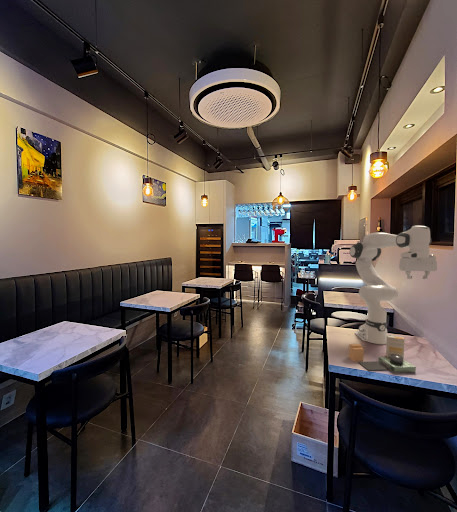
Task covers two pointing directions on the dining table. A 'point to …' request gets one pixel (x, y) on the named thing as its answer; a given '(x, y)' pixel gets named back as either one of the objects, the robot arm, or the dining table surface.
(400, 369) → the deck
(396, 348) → the supplement box
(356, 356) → the stepped tan block
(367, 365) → the mount pad
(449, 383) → the dining table surface
